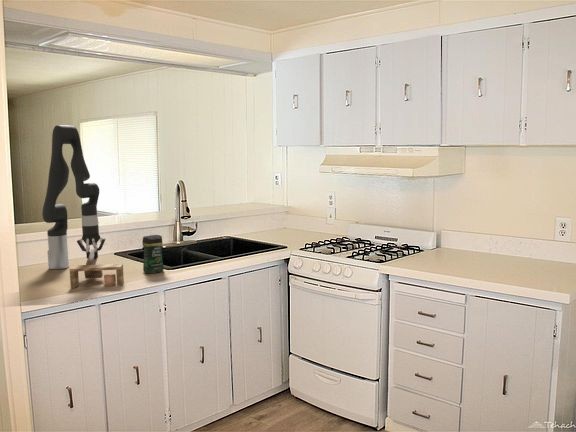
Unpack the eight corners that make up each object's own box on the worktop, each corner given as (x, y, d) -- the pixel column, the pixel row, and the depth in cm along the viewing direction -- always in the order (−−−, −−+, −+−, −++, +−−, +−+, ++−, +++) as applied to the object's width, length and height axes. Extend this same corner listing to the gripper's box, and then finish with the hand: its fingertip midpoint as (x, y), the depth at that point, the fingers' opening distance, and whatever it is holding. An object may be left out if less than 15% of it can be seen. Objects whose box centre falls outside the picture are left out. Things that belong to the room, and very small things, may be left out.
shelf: (70, 288, 245) (69, 269, 244) (74, 284, 252) (73, 265, 250) (121, 285, 248) (120, 266, 247) (123, 281, 255) (122, 263, 254)
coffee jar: (148, 274, 268) (146, 237, 266) (141, 272, 274) (139, 235, 272) (166, 271, 274) (164, 235, 272) (158, 269, 280) (157, 233, 278)
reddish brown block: (103, 286, 248) (103, 276, 247) (105, 283, 253) (105, 273, 252) (115, 285, 248) (114, 275, 248) (116, 282, 253) (116, 273, 253)
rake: (85, 278, 256) (83, 269, 254) (92, 258, 274) (91, 249, 272) (101, 277, 257) (100, 268, 255) (108, 257, 275) (107, 248, 273)
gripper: (73, 226, 261) (75, 261, 263) (103, 224, 263) (106, 260, 265) (76, 223, 268) (79, 258, 271) (106, 222, 270) (108, 257, 273)
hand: (92, 259), depth 268 cm, fingers closed on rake, 2 cm apart
